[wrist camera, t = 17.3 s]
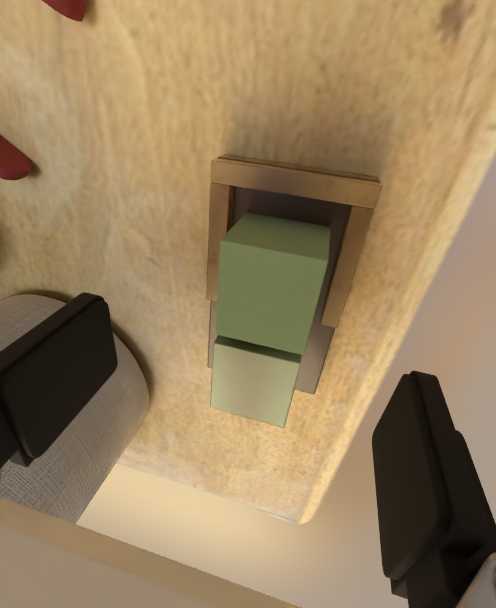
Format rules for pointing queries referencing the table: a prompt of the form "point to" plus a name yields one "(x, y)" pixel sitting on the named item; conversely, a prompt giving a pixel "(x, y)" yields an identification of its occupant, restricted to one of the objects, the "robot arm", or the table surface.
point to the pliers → (4, 156)
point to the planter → (74, 426)
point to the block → (271, 281)
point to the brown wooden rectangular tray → (339, 273)
